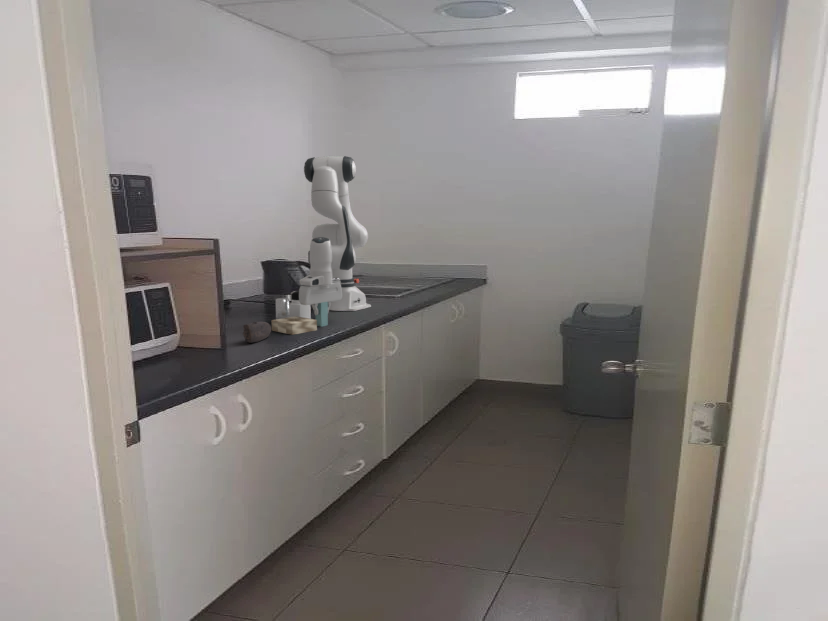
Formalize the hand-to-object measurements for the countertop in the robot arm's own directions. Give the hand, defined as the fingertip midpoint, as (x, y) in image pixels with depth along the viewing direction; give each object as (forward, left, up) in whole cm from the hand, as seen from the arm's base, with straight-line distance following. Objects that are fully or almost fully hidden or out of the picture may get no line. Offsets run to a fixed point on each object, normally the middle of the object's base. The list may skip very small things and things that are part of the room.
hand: (321, 313), depth 251 cm
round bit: (+8, -14, -5) cm, 17 cm away
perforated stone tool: (+35, +5, -5) cm, 35 cm away
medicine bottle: (-2, -16, -5) cm, 17 cm away
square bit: (0, 0, -5) cm, 5 cm away
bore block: (+14, 0, -5) cm, 15 cm away
